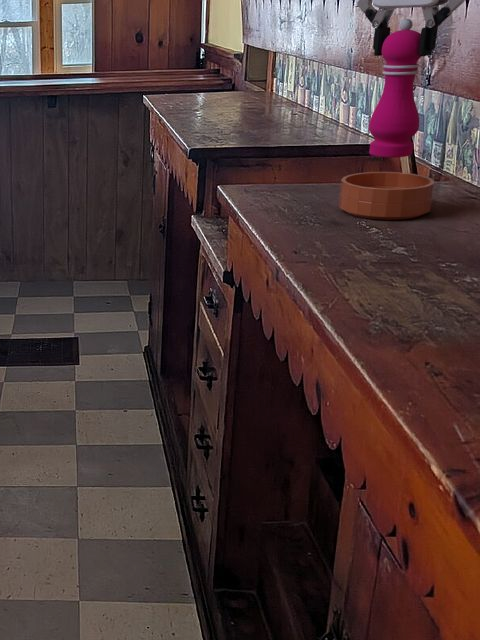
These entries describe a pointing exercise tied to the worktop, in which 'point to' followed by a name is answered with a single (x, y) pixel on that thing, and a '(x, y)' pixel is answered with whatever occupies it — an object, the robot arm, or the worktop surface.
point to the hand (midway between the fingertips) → (402, 54)
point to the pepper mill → (397, 96)
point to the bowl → (386, 195)
